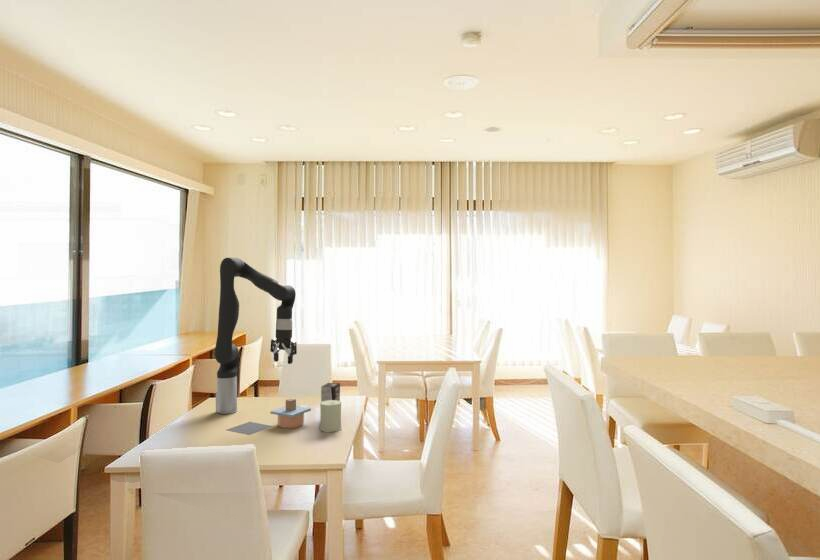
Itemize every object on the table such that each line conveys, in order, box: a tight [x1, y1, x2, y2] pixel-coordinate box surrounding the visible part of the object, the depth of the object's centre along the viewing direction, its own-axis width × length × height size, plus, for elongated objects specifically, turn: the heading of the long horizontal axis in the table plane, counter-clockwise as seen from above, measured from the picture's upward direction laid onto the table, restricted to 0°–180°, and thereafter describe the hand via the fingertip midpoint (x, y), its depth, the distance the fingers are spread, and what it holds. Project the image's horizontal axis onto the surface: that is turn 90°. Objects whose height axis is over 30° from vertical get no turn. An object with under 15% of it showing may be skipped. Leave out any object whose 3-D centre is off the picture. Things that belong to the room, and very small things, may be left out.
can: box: [319, 400, 342, 433], centre depth 224 cm, size 9×9×12 cm
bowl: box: [277, 413, 305, 429], centre depth 229 cm, size 11×11×6 cm
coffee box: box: [320, 382, 341, 403], centre depth 239 cm, size 9×6×16 cm
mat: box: [226, 421, 273, 436], centre depth 224 cm, size 14×14×1 cm
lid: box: [269, 398, 312, 417], centre depth 229 cm, size 12×12×6 cm
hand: (283, 362), depth 241 cm, fingers open, 8 cm apart
